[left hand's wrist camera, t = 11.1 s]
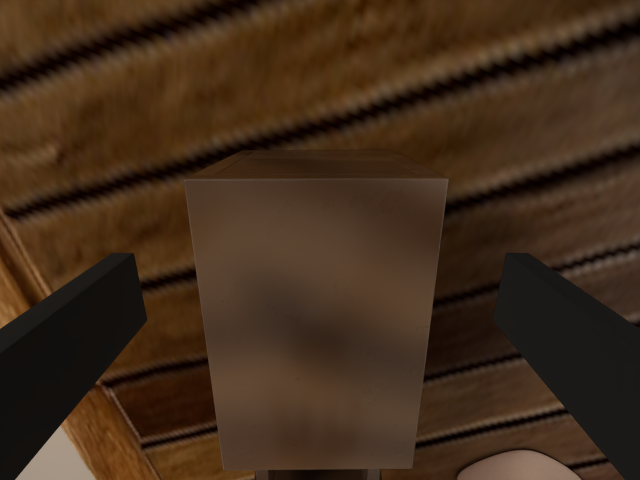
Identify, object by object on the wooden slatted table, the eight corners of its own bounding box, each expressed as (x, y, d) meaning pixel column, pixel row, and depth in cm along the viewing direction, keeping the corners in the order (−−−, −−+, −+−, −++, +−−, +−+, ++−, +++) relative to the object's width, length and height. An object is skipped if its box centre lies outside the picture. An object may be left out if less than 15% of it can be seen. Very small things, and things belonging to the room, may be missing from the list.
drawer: (366, 464, 35) (384, 589, 26) (269, 464, 35) (252, 590, 26) (378, 271, 28) (409, 350, 19) (256, 272, 28) (225, 352, 19)
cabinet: (378, 342, 32) (412, 469, 20) (256, 343, 32) (223, 470, 20) (391, 149, 26) (449, 177, 14) (241, 150, 26) (182, 178, 14)
